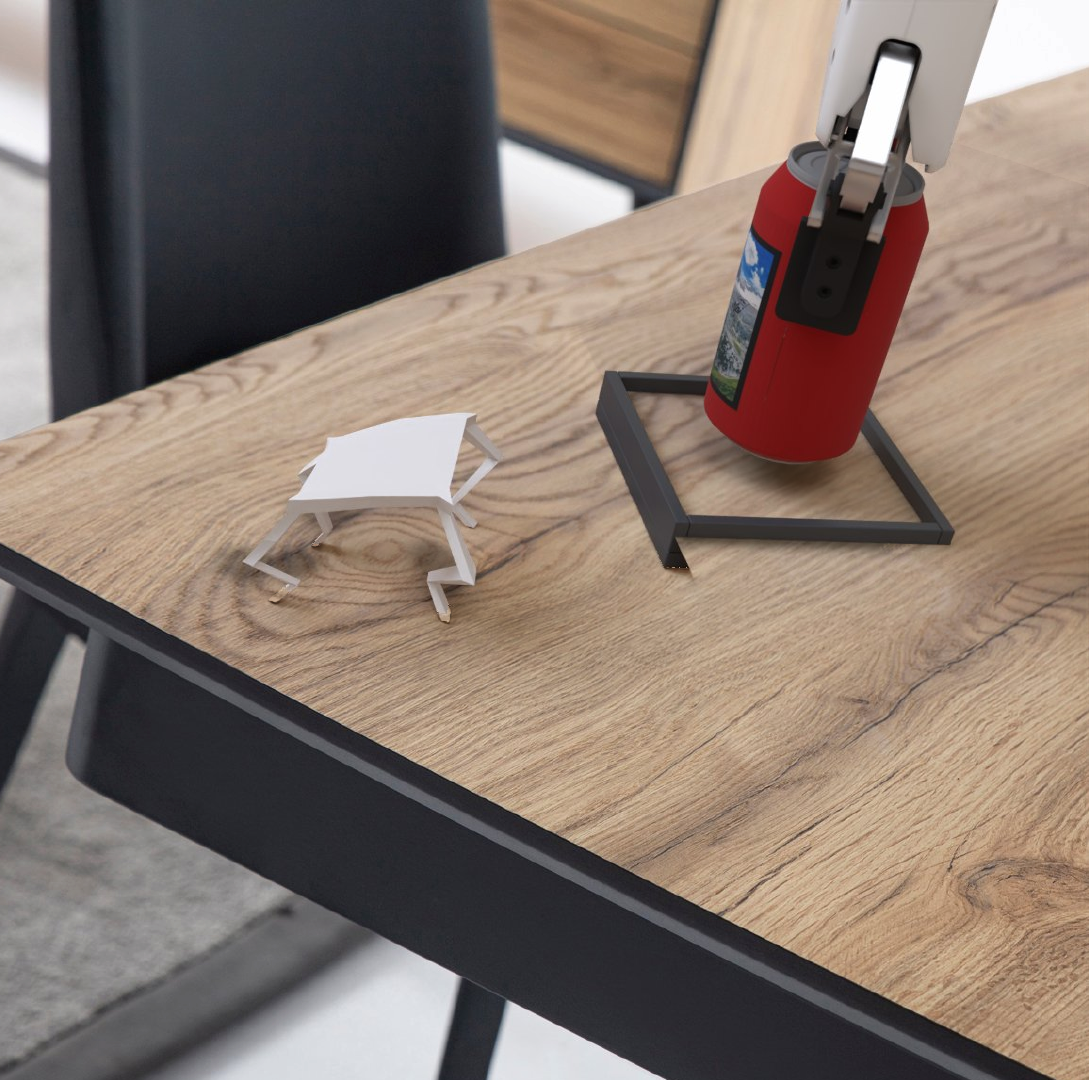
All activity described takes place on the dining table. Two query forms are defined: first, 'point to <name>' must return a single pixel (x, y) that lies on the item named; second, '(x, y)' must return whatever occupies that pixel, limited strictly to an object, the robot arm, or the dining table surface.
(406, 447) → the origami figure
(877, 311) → the beverage can
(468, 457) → the dining table surface
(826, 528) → the open square outline
